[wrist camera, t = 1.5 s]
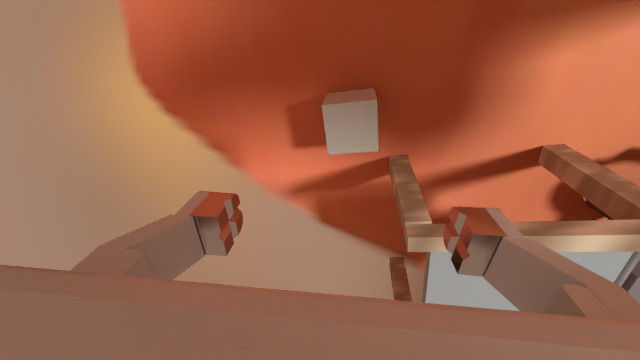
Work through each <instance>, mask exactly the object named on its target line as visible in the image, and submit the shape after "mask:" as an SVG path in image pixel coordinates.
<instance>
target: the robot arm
mask: <svg viewBox="0 0 640 360" xmlns="http://www.w3.org/2000/svg"><path fill="white" fill-rule="evenodd" d="M239 204H240V200H239V196H238V195H237V194H233V193H220V192H206V191H200V192H197V193H196V194H195V195H194V196H193V197H192V198H191V199H190V200H189V201H188V202H187V203H186V204H185V205H184V206H183V207H182V208H181V209H180V210H179V211H178V212H177V213H176V214H175V215H169V216H167V217H165V218H162V219H160V220H158V221H155V222H153V223H151V224H148V225H146V226H144V227H142V228H139V229H137V230H135V231H132V232H130V233H128V234H125V235H123V236H121V237H118V238H116V239H114V240H112V241H109V242H107V243H104V244H102V245H100V246H99V247H97V248H96V249H95V250H94V251H93V252H91V253H90V254H89V255H88V256H87V257H86V258H84V259H83V260H82V261H81V262H80V263H78V264H77V265H76V266H75V267H74V268H72V269H71V270H70V271H65V270H53V269H43V268H31V267H19V266H9V265H0V360H640V304H639V303H638V302H637V301H636V300H635V299H634V298H633V297H632V296H631V295H630V294H629V293H628V292H627V291H626V290H624V289H623V288H622V287H620V286H619V285H617V284H615V283H613V282H611V281H609V280H607V279H605V278H603V277H602V276H600V275H598V274H596V273H594V272H592V271H590V270H588V269H587V268H585V267H583V266H581V265H579V264H577V263H575V262H573V261H571V260H570V259H568V258H566V257H564V256H562V255H560V254H558V253H556V252H555V251H553V250H551V249H549V248H547V247H545V246H543V245H541V244H539V243H538V242H536V241H534V240H532V239H530V238H524V236H523V235H522V234H521V233H520V232H519V231H518V230H517V228H516V227H515V226H514V225H513V224H512V223H511V221H510V220H509V219H508V218H507V217H506V216H505V215H504V213H503V212H502V211H501V210H500V209H498V208H475V207H452V208H451V209H450V212H449V215H448V216H449V218H450V220H451V221H450V222H449V223H447V224H446V225H445V228H444V231H443V241H444V245H445V247H446V250H447V251H449V252H450V253H451V254H452V257H451V261H452V263H453V265H454V267H455V270H456V272H457V274H461V275H470V276H480V277H484V279H485V280H486V281H487V282H488V283H489V284H491V285H492V286H493V287H494V288H495V289H496V290H497V291H498V292H499V293H501V294H502V295H503V296H504V297H505V298H506V299H507V300H508V301H509V302H511V303H512V304H513V305H514V306H515V307H516V308H517V309H518V310H519V311H512V310H500V309H488V308H477V307H465V306H455V305H444V304H433V303H422V302H411V301H400V300H388V299H377V298H366V297H356V296H343V295H332V294H322V293H309V292H299V291H288V290H277V289H265V288H254V287H243V286H232V285H221V284H209V283H198V282H186V281H176V280H173V279H175V278H176V277H177V276H179V275H180V274H181V273H183V272H184V271H185V270H187V269H188V268H189V267H191V266H192V265H193V264H195V263H196V262H197V261H199V260H200V259H201V258H203V257H204V256H205V255H220V256H227V255H228V253H229V251H230V249H231V247H232V246H233V244H234V241H233V238H234V237H236V236H238V235H239V233H240V231H241V228H242V223H243V216H242V212H241V211H240V210H239V209H238V208H237V207H238V206H239Z"/></svg>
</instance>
